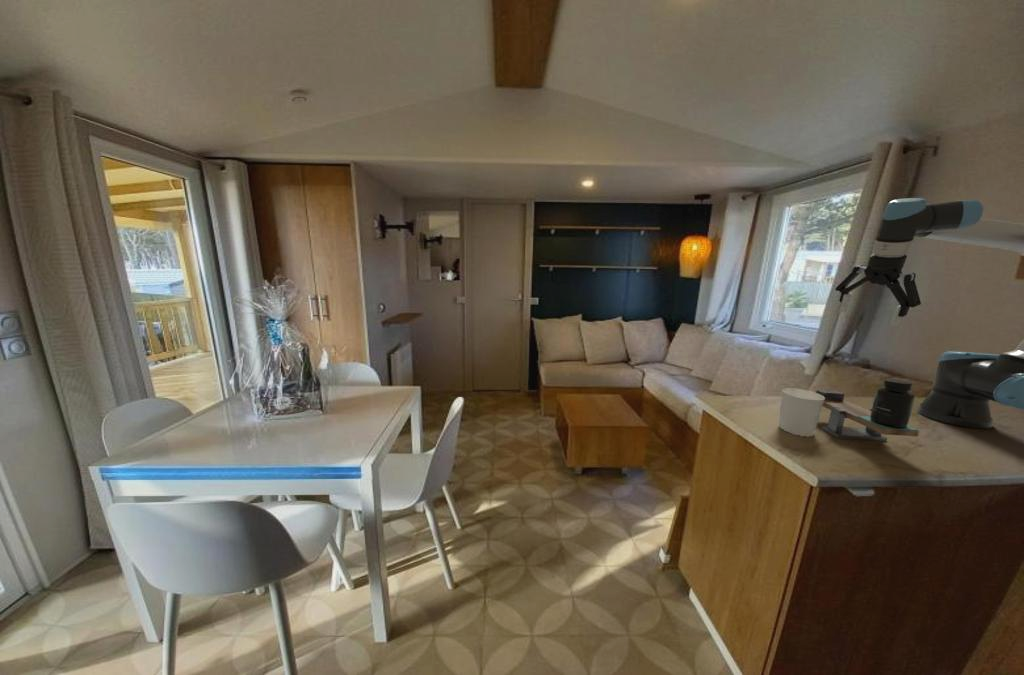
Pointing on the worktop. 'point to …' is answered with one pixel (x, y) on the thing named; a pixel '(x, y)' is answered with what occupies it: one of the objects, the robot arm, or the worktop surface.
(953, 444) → the worktop surface
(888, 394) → the supplement bottle
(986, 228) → the robot arm
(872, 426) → the beam
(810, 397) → the white cylinder
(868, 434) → the stand
